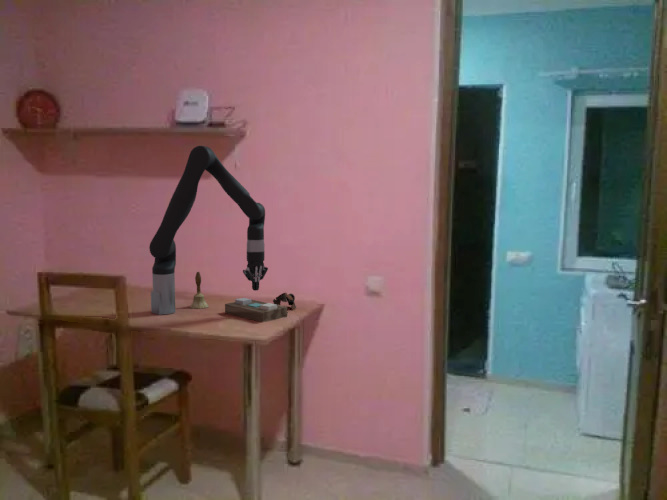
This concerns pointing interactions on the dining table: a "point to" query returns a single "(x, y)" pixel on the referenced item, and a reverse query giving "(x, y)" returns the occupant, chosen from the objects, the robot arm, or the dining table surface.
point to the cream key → (268, 306)
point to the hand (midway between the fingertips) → (255, 290)
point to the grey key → (243, 301)
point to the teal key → (254, 305)
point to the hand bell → (198, 295)
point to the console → (255, 311)
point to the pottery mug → (283, 298)
